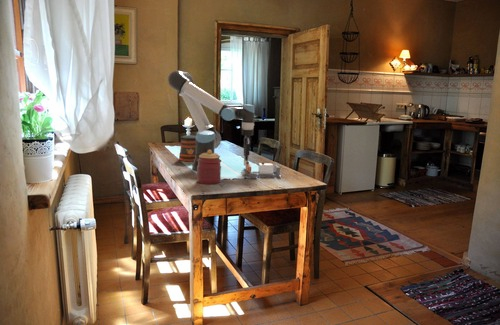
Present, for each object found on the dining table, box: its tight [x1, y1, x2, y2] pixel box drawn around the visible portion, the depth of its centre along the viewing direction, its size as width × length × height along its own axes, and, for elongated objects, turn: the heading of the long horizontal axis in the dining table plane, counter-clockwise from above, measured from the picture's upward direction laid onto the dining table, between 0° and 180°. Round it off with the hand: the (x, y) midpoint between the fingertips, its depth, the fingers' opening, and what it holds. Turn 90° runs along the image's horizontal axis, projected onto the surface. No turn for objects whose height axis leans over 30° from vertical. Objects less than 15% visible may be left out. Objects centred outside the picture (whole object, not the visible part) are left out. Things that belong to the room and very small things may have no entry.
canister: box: [196, 150, 222, 185], centre depth 208 cm, size 13×13×18 cm
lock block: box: [257, 162, 274, 175], centre depth 233 cm, size 8×6×7 cm
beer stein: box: [178, 134, 196, 163], centre depth 267 cm, size 19×15×20 cm
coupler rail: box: [240, 164, 281, 180], centre depth 230 cm, size 22×16×6 cm
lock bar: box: [245, 161, 252, 172], centre depth 240 cm, size 2×12×4 cm, turn 9°
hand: (245, 165), depth 250 cm, fingers closed
